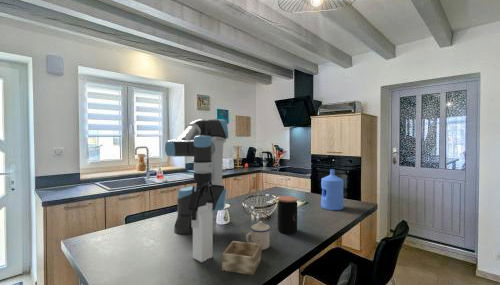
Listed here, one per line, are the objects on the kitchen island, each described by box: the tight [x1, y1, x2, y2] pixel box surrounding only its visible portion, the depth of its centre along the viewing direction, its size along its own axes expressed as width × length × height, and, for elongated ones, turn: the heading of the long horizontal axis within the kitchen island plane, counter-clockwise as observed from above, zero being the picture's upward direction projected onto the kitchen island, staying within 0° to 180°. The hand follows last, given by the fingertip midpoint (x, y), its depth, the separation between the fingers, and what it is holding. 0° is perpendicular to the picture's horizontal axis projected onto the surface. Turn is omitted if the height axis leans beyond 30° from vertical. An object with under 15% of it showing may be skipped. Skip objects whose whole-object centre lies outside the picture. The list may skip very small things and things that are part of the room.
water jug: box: [320, 168, 345, 211], centre depth 186 cm, size 16×16×28 cm
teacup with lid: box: [245, 220, 271, 251], centre depth 119 cm, size 12×9×12 cm
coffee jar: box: [277, 195, 298, 235], centre depth 140 cm, size 11×11×18 cm
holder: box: [221, 240, 262, 276], centre depth 103 cm, size 13×13×6 cm
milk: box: [192, 205, 214, 263], centre depth 108 cm, size 6×6×22 cm
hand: (202, 222), depth 108 cm, fingers open, 13 cm apart
